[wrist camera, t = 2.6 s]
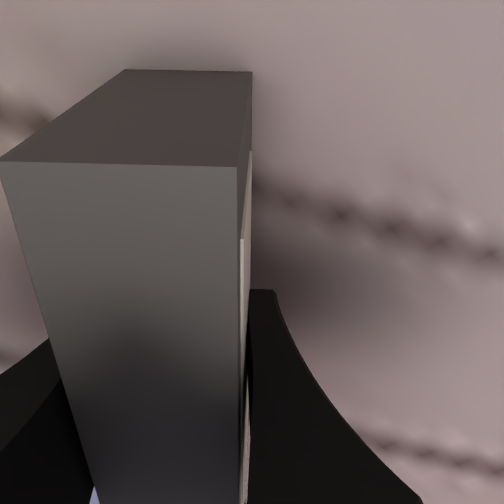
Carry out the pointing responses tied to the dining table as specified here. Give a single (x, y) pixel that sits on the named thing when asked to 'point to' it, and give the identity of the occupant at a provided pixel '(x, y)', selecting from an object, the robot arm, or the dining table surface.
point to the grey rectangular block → (147, 277)
